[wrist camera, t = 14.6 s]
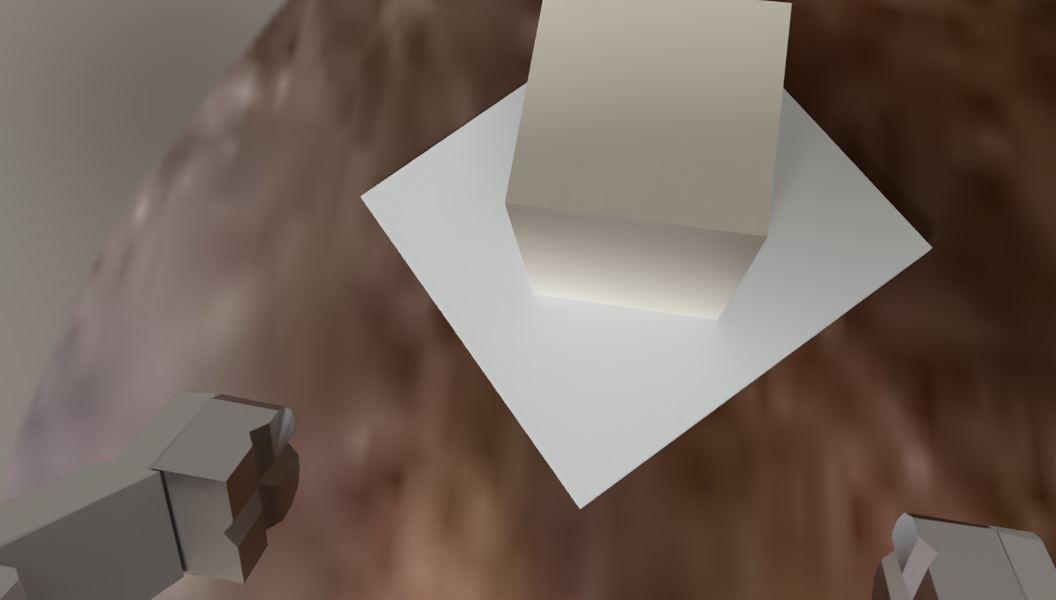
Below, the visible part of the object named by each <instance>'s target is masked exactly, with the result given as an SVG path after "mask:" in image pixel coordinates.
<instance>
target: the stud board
mask: <svg viewBox="0 0 1056 600" xmlns="http://www.w3.org/2000/svg"><path fill="white" fill-rule="evenodd" d="M526 87H527V83H526V84H524V85H523V86H521V87H520V88H518V89H517V90H515V91H514V92H512V93H511V94H510V95H508V96H507V97H505V98H504V99H502V100H501V101H499V102H498V103H496V104H495V105H493V106H492V107H491V108H489V109H488V110H486V111H485V112H483V113H482V114H480V115H479V116H477V117H476V118H474V119H473V120H472V121H470V122H469V123H467V124H466V125H464V126H463V127H461V128H460V129H458V130H457V131H455V132H454V133H453V134H451V135H450V136H448V137H447V138H445V139H444V140H442V141H441V142H439V143H438V144H436V145H435V146H434V147H432V148H431V149H429V150H428V151H426V152H425V153H423V154H422V155H420V156H419V157H417V158H416V159H415V160H413V161H412V162H410V163H409V164H407V165H406V166H404V167H403V168H401V169H400V170H398V171H397V172H395V173H394V174H393V175H391V176H390V177H388V178H387V179H385V180H384V181H382V182H381V183H379V184H378V185H376V186H375V187H374V188H372V189H371V190H369V191H368V192H366V193H365V194H363V195H362V196H360V197H361V198H362V200H363V201H364V203H365V204H366V206H367V207H368V208H369V210H370V211H371V213H372V214H373V215H374V217H375V218H376V220H377V221H378V223H379V224H380V225H381V227H382V228H383V230H384V231H385V233H386V234H387V235H388V237H389V238H390V240H391V241H392V242H393V244H394V245H395V247H396V248H397V250H398V251H399V252H400V254H401V255H402V257H403V258H404V260H405V261H406V262H407V264H408V265H409V267H410V268H411V269H412V271H413V272H414V274H415V275H416V277H417V278H418V279H419V281H420V282H421V284H422V285H423V287H424V288H425V289H426V291H427V292H428V294H429V295H430V296H431V298H432V299H433V301H434V302H435V304H436V305H437V306H438V308H439V309H440V311H441V312H442V314H443V315H444V316H445V318H446V319H447V321H448V322H449V323H450V325H451V326H452V328H453V329H454V331H455V332H456V333H457V335H458V336H459V338H460V339H461V341H462V342H463V343H464V345H465V346H466V348H467V349H468V350H469V352H470V353H471V355H472V356H473V358H474V359H475V360H476V362H477V363H478V365H479V366H480V368H481V369H482V370H483V372H484V373H485V375H486V376H487V377H488V379H489V380H490V382H491V383H492V385H493V386H494V387H495V389H496V390H497V392H498V393H499V395H500V396H501V397H502V399H503V400H504V402H505V403H506V404H507V406H508V407H509V409H510V410H511V412H512V413H513V414H514V416H515V417H516V419H517V420H518V422H519V423H520V424H521V426H522V427H523V429H524V430H525V432H526V433H527V434H528V436H529V437H530V439H531V440H532V441H533V443H534V444H535V446H536V447H537V449H538V450H539V451H540V453H541V454H542V456H543V457H544V459H545V460H546V461H547V463H548V464H549V466H550V467H551V468H552V470H553V471H554V473H555V474H556V476H557V477H558V478H559V480H560V481H561V483H562V484H563V486H564V487H565V488H566V490H567V491H568V493H569V494H570V495H571V497H572V498H573V500H574V501H575V503H576V504H577V505H578V507H579V508H580V509H581V508H583V507H584V506H586V505H587V504H588V503H590V502H591V501H592V500H594V499H595V498H596V497H598V496H599V495H600V494H602V493H603V492H604V491H606V490H607V489H609V488H610V487H611V486H613V485H614V484H615V483H617V482H618V481H619V480H621V479H622V478H623V477H625V476H626V475H627V474H629V473H630V472H631V471H633V470H634V469H636V468H637V467H638V466H640V465H641V464H642V463H644V462H645V461H646V460H648V459H649V458H650V457H652V456H653V455H654V454H656V453H657V452H658V451H660V450H661V449H663V448H664V447H665V446H667V445H668V444H669V443H671V442H672V441H673V440H675V439H676V438H677V437H679V436H680V435H681V434H683V433H684V432H685V431H687V430H688V429H690V428H691V427H692V426H694V425H695V424H696V423H698V422H699V421H700V420H702V419H703V418H704V417H706V416H707V415H708V414H710V413H711V412H712V411H714V410H715V409H717V408H718V407H719V406H721V405H722V404H723V403H725V402H726V401H727V400H729V399H730V398H731V397H733V396H734V395H735V394H737V393H738V392H739V391H741V390H742V389H744V388H745V387H746V386H748V385H749V384H750V383H752V382H753V381H754V380H756V379H757V378H758V377H760V376H761V375H762V374H764V373H765V372H766V371H768V370H769V369H771V368H772V367H773V366H775V365H776V364H777V363H779V362H780V361H781V360H783V359H784V358H785V357H787V356H788V355H789V354H791V353H792V352H793V351H795V350H796V349H798V348H799V347H800V346H802V345H803V344H804V343H806V342H807V341H808V340H810V339H811V338H812V337H814V336H815V335H816V334H818V333H819V332H820V331H822V330H823V329H825V328H826V327H827V326H829V325H830V324H831V323H833V322H834V321H835V320H837V319H838V318H839V317H841V316H842V315H843V314H845V313H846V312H848V311H849V310H850V309H852V308H853V307H854V306H856V305H857V304H858V303H860V302H861V301H862V300H864V299H865V298H866V297H868V296H869V295H870V294H872V293H873V292H875V291H876V290H877V289H879V288H880V287H881V286H883V285H884V284H885V283H887V282H888V281H889V280H891V279H892V278H893V277H895V276H896V275H897V274H899V273H900V272H902V271H903V270H904V269H906V268H907V267H908V266H910V265H911V264H912V263H914V262H915V261H916V260H918V259H919V258H920V257H922V256H923V255H924V254H926V253H927V252H928V251H929V250H930V249H932V247H931V246H930V245H929V244H928V243H927V242H926V241H925V239H924V238H923V237H922V236H921V235H920V234H919V233H918V232H917V231H916V230H915V229H914V228H913V227H912V226H911V224H910V223H909V222H908V221H907V220H906V219H905V218H904V217H903V216H902V215H901V214H900V213H899V212H898V210H897V209H896V208H895V207H894V206H893V205H892V204H891V203H890V202H889V201H888V200H887V199H886V198H885V197H884V195H883V194H882V193H881V192H880V191H879V190H878V189H877V188H876V187H875V186H874V185H873V184H872V183H871V181H870V180H869V179H868V178H867V177H866V176H865V175H864V174H863V173H862V172H861V171H860V170H859V169H858V168H857V166H856V165H855V164H854V163H853V162H852V161H851V160H850V159H849V158H848V157H847V156H846V155H845V154H844V153H843V151H842V150H841V149H840V148H839V147H838V146H837V145H836V144H835V143H834V142H833V141H832V140H831V139H830V137H829V136H828V135H827V134H826V133H825V132H824V131H823V130H822V129H821V128H820V127H819V126H818V125H817V124H816V122H815V121H814V120H813V119H812V118H811V117H810V116H809V115H808V114H807V113H806V112H805V111H804V110H803V108H802V107H801V106H800V105H799V104H798V103H797V102H796V101H795V100H794V99H793V98H792V97H791V96H790V95H789V93H788V92H787V91H786V90H785V89H784V88H783V94H782V103H781V113H780V123H779V132H778V142H777V152H776V162H775V171H774V181H773V191H772V201H771V210H770V220H769V230H768V237H767V239H766V240H765V242H764V244H763V245H762V247H761V249H760V250H759V252H758V254H757V255H756V257H755V259H754V260H753V262H752V264H751V265H750V267H749V269H748V270H747V272H746V274H745V275H744V277H743V279H742V280H741V282H740V284H739V285H738V287H737V289H736V290H735V292H734V294H733V296H732V297H731V299H730V301H729V302H728V304H727V306H726V307H725V309H724V311H723V312H722V314H721V316H720V317H719V319H718V320H713V319H706V318H699V317H692V316H685V315H678V314H671V313H664V312H657V311H650V310H643V309H636V308H629V307H622V306H615V305H608V304H600V303H593V302H586V301H579V300H572V299H565V298H558V297H551V296H544V295H537V294H533V292H532V289H531V286H530V282H529V279H528V276H527V273H526V270H525V266H524V263H523V260H522V257H521V253H520V250H519V247H518V244H517V241H516V237H515V234H514V231H513V228H512V225H511V221H510V218H509V215H508V212H507V209H506V205H505V199H506V194H507V188H508V183H509V178H510V172H511V167H512V162H513V156H514V151H515V146H516V140H517V135H518V130H519V125H520V119H521V114H522V109H523V103H524V98H525V93H526Z"/></svg>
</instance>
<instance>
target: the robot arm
mask: <svg viewBox="0 0 1056 600" xmlns="http://www.w3.org/2000/svg"><path fill="white" fill-rule="evenodd" d="M294 432H295V424H294V418H293V412H292V411H291V410H290V409H288V408H287V407H284V406H279V405H274V404H269V403H264V402H259V401H254V400H249V399H244V398H239V397H233V396H228V395H223V394H221V395H219V394H214V393H209V392H204V391H199V390H194V389H189V388H188V389H185V390H183V391H180V392H178V393H177V394H176V395H175V396H174V397H173V398H172V399H171V400H170V401H169V402H168V403H167V404H166V405H165V406H164V408H163V409H162V410H161V411H160V412H159V413H158V414H157V415H156V416H155V417H154V418H153V419H152V420H151V421H150V422H149V423H148V424H147V426H146V427H145V428H144V429H143V430H142V431H141V432H140V433H139V434H138V435H137V436H136V437H135V438H134V439H133V440H132V441H131V443H130V444H129V445H128V446H127V447H126V448H125V449H124V450H123V451H122V452H121V453H120V454H119V455H118V456H117V457H116V458H115V459H114V461H113V462H106V461H100V462H97V463H95V464H93V465H90V466H88V467H85V468H83V469H81V470H78V471H76V472H74V473H71V474H69V475H67V476H64V477H62V478H59V479H57V480H55V481H52V482H50V483H48V484H45V485H43V486H41V487H38V488H36V489H34V490H31V491H29V492H26V493H24V494H22V495H19V496H17V497H15V498H12V499H10V500H8V501H5V502H3V503H0V600H150V599H152V598H153V597H155V596H156V595H158V594H159V593H161V592H162V591H164V590H165V589H166V588H168V587H169V586H171V585H172V584H174V583H175V582H177V581H178V580H180V579H181V578H182V577H184V573H187V574H193V575H199V576H205V577H211V578H216V579H222V580H228V581H234V582H240V583H245V581H246V580H247V578H248V576H249V575H250V573H251V571H252V570H253V568H254V567H255V565H256V563H257V562H258V560H259V558H260V557H261V555H262V554H263V552H264V550H265V549H266V547H267V545H268V544H267V537H266V530H267V529H269V528H270V527H272V526H274V525H276V524H277V523H279V522H281V521H283V519H284V517H285V516H286V514H287V512H288V510H289V509H290V507H291V505H292V502H293V499H294V496H295V493H296V490H297V487H298V481H299V470H300V467H299V457H298V454H297V453H296V451H295V450H294V449H293V448H292V447H291V445H290V444H289V443H288V441H289V439H290V438H291V436H292V435H293V433H294ZM891 535H892V539H893V542H894V546H895V550H896V551H894V552H892V553H891V554H889V555H887V556H886V557H884V558H882V559H881V561H880V564H879V566H878V569H877V572H876V575H875V578H874V585H873V593H872V600H1056V569H1055V567H1054V565H1053V563H1052V561H1051V559H1050V556H1049V554H1048V552H1047V550H1046V548H1045V546H1044V544H1043V542H1042V540H1041V539H1040V538H1039V537H1038V536H1037V535H1035V534H1034V533H1033V532H1027V531H1021V530H1014V529H1008V528H1001V527H995V526H988V527H987V526H984V525H978V524H972V523H966V522H960V521H954V520H947V519H941V518H935V517H929V516H923V515H917V514H911V513H905V512H904V514H903V515H902V516H901V517H900V518H899V519H898V520H897V522H896V525H895V527H894V529H893V532H892V534H891Z"/></svg>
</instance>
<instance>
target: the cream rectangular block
mask: <svg viewBox="0 0 1056 600" xmlns="http://www.w3.org/2000/svg"><path fill="white" fill-rule="evenodd" d="M791 6H792V3H785V2H774V1H763V0H543V2H542V8H541V13H540V18H539V24H538V29H537V34H536V40H535V45H534V50H533V55H532V61H531V66H530V71H529V77H528V82H527V87H526V93H525V98H524V103H523V109H522V114H521V119H520V125H519V130H518V135H517V140H516V146H515V151H514V156H513V162H512V167H511V172H510V178H509V183H508V188H507V194H506V199H505V205H506V209H507V212H508V215H509V218H510V221H511V225H512V228H513V231H514V234H515V237H516V241H517V244H518V247H519V250H520V253H521V257H522V260H523V263H524V266H525V270H526V273H527V276H528V279H529V282H530V286H531V289H532V292H533V294H537V295H544V296H551V297H558V298H565V299H572V300H579V301H586V302H593V303H600V304H608V305H615V306H622V307H629V308H636V309H643V310H650V311H657V312H664V313H671V314H678V315H685V316H692V317H699V318H706V319H713V320H718V319H719V317H720V316H721V314H722V312H723V311H724V309H725V307H726V306H727V304H728V302H729V301H730V299H731V297H732V296H733V294H734V292H735V290H736V289H737V287H738V285H739V284H740V282H741V280H742V279H743V277H744V275H745V274H746V272H747V270H748V269H749V267H750V265H751V264H752V262H753V260H754V259H755V257H756V255H757V254H758V252H759V250H760V249H761V247H762V245H763V244H764V242H765V240H766V239H767V237H768V230H769V220H770V210H771V201H772V191H773V181H774V171H775V162H776V152H777V142H778V132H779V123H780V113H781V103H782V94H783V84H784V74H785V64H786V55H787V45H788V35H789V25H790V16H791Z"/></svg>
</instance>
